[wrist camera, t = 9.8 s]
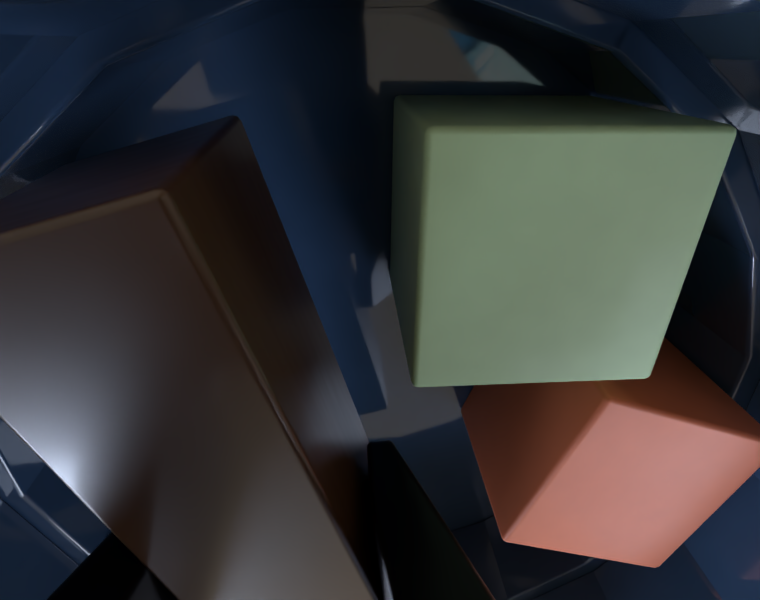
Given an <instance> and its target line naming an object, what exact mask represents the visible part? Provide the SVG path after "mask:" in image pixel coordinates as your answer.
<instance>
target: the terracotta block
mask: <svg viewBox="0 0 760 600" xmlns="http://www.w3.org/2000/svg"><path fill="white" fill-rule="evenodd" d="M461 413H462V416H463V419H464V422H465V425H466V429H467V432H468V435H469V438H470V441H471V444H472V447H473V450H474V453H475V457H476V460H477V463H478V466H479V469H480V472H481V475H482V478H483V481H484V484H485V488H486V491H487V494H488V497H489V500H490V503H491V506H492V509H493V512H494V516H495V519H496V522H497V525H498V528H499V531H500V534H501V537H502V539H503V540H504V541H505V542H509V543H515V544H521V545H526V546H532V547H538V548H544V549H549V550H555V551H561V552H567V553H572V554H578V555H584V556H590V557H595V558H601V559H607V560H613V561H618V562H624V563H630V564H635V565H641V566H647V567H653V568H656V567H659V566H660V565H661V564H662V563H663V562H664V561H665V560H666V559H667V558H668V557H669V556H670V555H671V554H672V553H673V552H674V551H675V550H676V549H678V548H679V547H680V546H681V545H682V544H683V543H684V542H685V541H686V540H687V539H688V538H689V537H690V536H691V535H692V534H693V533H694V532H695V531H696V530H697V529H698V528H699V527H700V526H701V525H702V524H703V523H704V522H705V521H706V520H707V519H708V518H709V517H710V516H711V515H712V514H713V513H714V512H715V511H716V510H717V509H718V508H719V507H720V506H721V505H722V504H723V503H724V502H725V501H726V500H727V499H728V498H729V497H730V496H731V495H732V494H733V493H734V492H735V491H736V490H737V489H738V488H739V487H740V486H741V485H742V484H743V483H744V482H745V481H746V480H747V479H748V478H749V477H750V476H751V475H752V474H753V473H754V472H755V471H756V470H757V469H758V468H760V424H759V423H758V422H757V421H756V420H755V419H754V418H753V417H752V416H751V415H750V414H748V413H747V412H746V411H745V410H744V409H743V408H742V407H741V406H740V405H739V404H737V403H736V402H735V401H734V400H733V399H732V398H731V397H730V396H729V395H728V394H726V393H725V392H724V391H723V390H722V389H721V388H720V387H719V386H718V385H717V384H715V383H714V382H713V381H712V380H711V379H710V378H709V377H708V376H707V375H706V374H705V373H703V372H702V371H701V370H700V369H699V368H698V367H697V366H696V365H695V364H694V363H692V362H691V361H690V360H689V359H688V358H687V357H686V356H685V355H684V354H683V353H681V352H680V351H679V350H678V349H677V348H676V347H675V346H674V345H673V344H672V343H670V342H669V341H668V340H667V339H666V338H665V337H664V339H663V342H662V344H661V347H660V350H659V353H658V356H657V358H656V361H655V364H654V367H653V370H652V372H651V375H650V376H649V377H648V378H645V379H622V380H596V381H570V382H544V383H517V384H491V385H474V387H473V389H472V391H471V392H470V394H469V396H468V398H467V399H466V401H465V403H464V405H463V406H462V409H461Z"/></svg>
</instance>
